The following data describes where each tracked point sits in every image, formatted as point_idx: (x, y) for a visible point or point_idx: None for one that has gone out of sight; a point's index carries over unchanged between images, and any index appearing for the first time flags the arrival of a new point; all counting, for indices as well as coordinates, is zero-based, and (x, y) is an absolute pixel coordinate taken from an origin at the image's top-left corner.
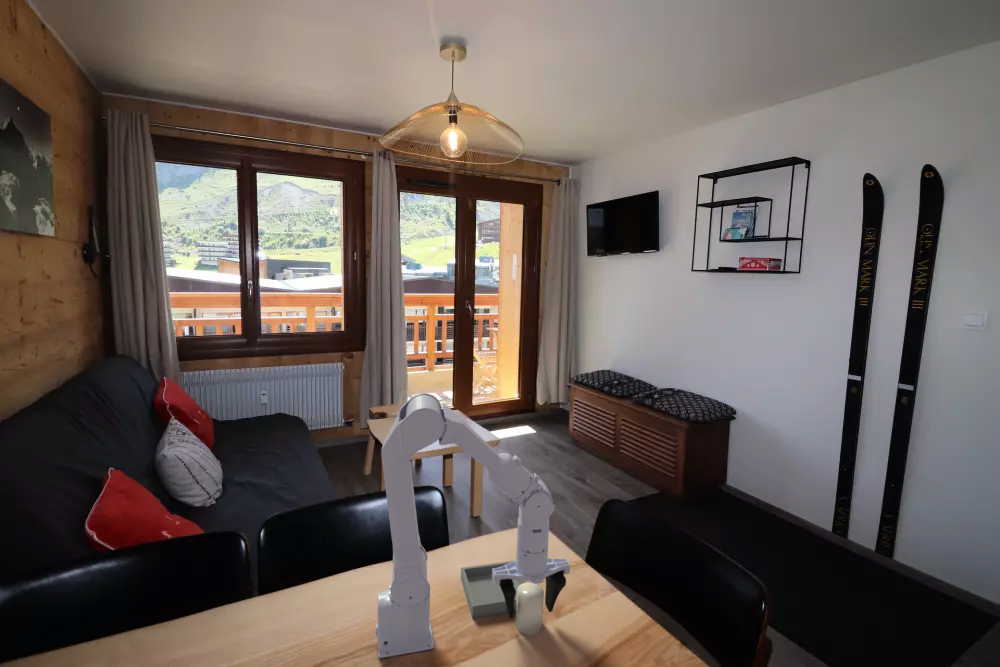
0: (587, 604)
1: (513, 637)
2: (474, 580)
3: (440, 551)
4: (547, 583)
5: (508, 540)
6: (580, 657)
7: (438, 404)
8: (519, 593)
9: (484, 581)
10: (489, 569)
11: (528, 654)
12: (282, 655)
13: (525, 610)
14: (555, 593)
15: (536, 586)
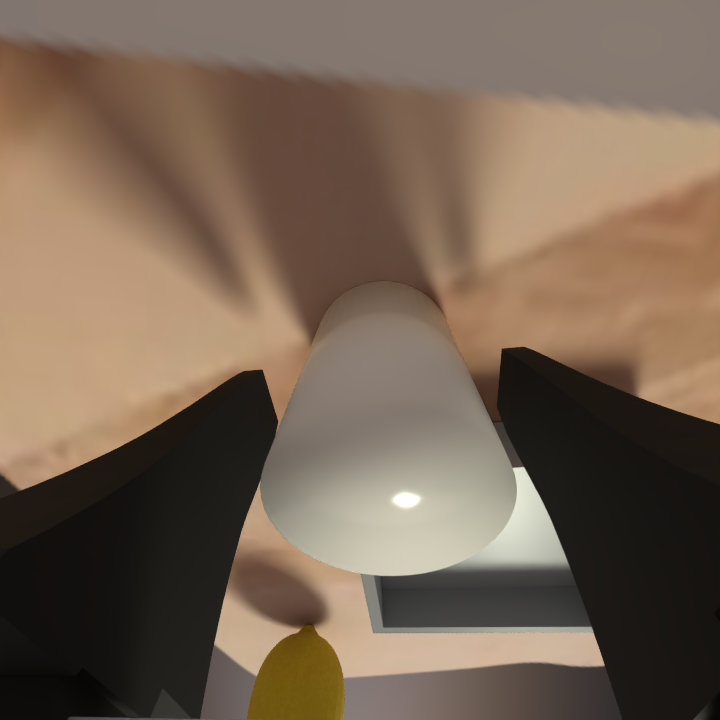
0: (97, 425)
1: (485, 275)
2: (546, 571)
3: (596, 663)
4: (215, 554)
5: (363, 668)
6: (113, 61)
7: None
8: (498, 493)
9: (508, 564)
10: (480, 608)
11: (440, 129)
12: None
13: (442, 357)
14: (141, 454)
15: (317, 538)
